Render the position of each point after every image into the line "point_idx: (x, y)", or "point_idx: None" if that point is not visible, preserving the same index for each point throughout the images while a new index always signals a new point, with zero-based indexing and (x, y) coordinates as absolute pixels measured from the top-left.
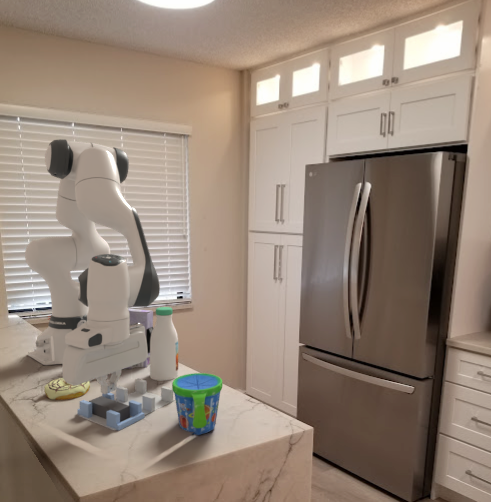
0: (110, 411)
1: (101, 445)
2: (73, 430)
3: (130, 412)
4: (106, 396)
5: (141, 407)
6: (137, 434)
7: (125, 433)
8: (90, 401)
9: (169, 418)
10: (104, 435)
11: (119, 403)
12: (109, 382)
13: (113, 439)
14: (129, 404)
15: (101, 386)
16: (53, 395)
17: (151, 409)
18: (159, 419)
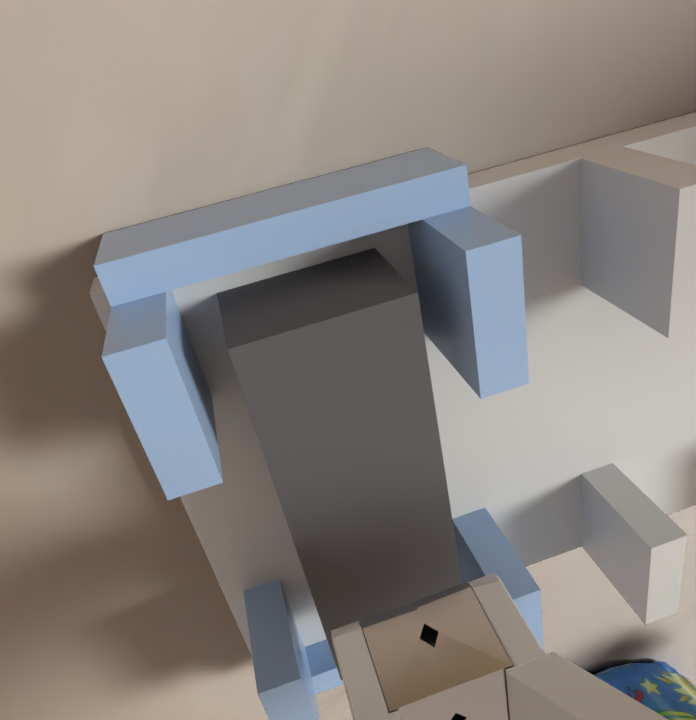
0: (285, 703)
1: (132, 704)
2: (3, 451)
3: (464, 547)
4: (460, 319)
5: None
6: None
7: None
8: (241, 377)
9: (600, 589)
10: (197, 614)
11: (440, 562)
12: (490, 693)
13: (223, 672)
14: None
15: (353, 712)
16: None
17: (590, 555)
18: (559, 577)
